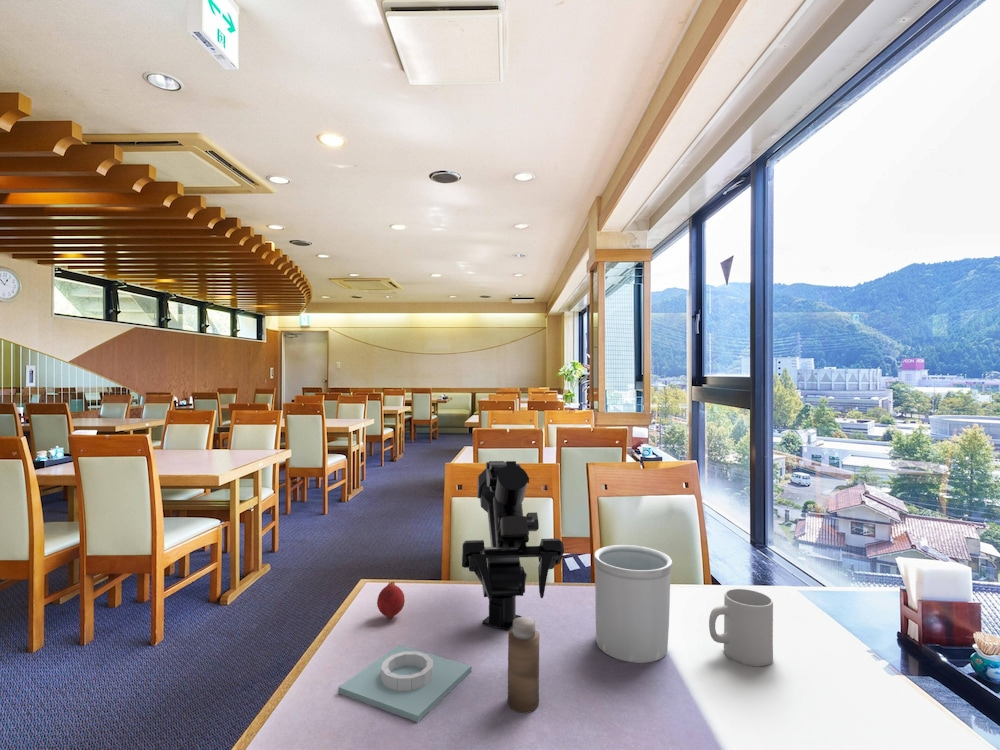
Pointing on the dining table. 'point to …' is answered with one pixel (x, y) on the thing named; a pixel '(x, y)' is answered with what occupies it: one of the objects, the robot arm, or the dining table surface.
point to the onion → (390, 600)
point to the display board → (405, 698)
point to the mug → (745, 627)
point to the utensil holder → (632, 602)
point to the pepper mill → (523, 665)
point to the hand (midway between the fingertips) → (516, 598)
